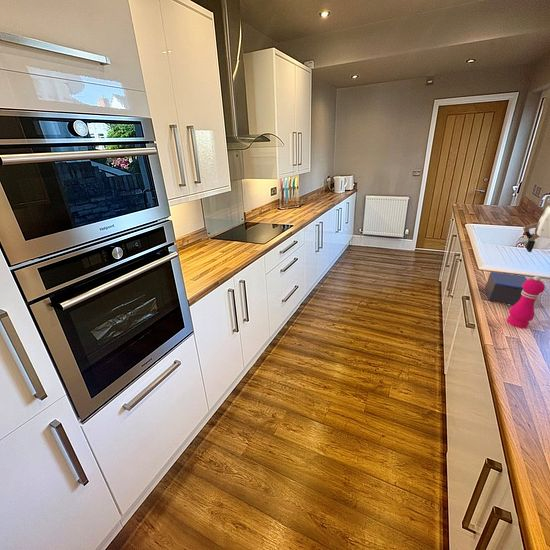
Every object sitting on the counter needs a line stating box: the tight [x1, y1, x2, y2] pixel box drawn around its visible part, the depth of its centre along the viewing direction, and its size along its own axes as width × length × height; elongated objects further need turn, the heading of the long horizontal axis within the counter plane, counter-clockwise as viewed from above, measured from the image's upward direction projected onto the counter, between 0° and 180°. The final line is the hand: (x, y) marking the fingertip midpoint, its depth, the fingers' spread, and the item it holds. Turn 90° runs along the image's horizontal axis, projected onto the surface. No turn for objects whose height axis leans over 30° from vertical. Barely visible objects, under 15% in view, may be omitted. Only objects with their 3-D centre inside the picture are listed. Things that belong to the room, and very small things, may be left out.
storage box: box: [484, 272, 524, 306], centre depth 127 cm, size 12×14×8 cm
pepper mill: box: [506, 275, 546, 329], centre depth 106 cm, size 7×7×20 cm
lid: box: [490, 271, 528, 289], centre depth 125 cm, size 12×14×1 cm
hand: (546, 253), depth 100 cm, fingers open, 9 cm apart
